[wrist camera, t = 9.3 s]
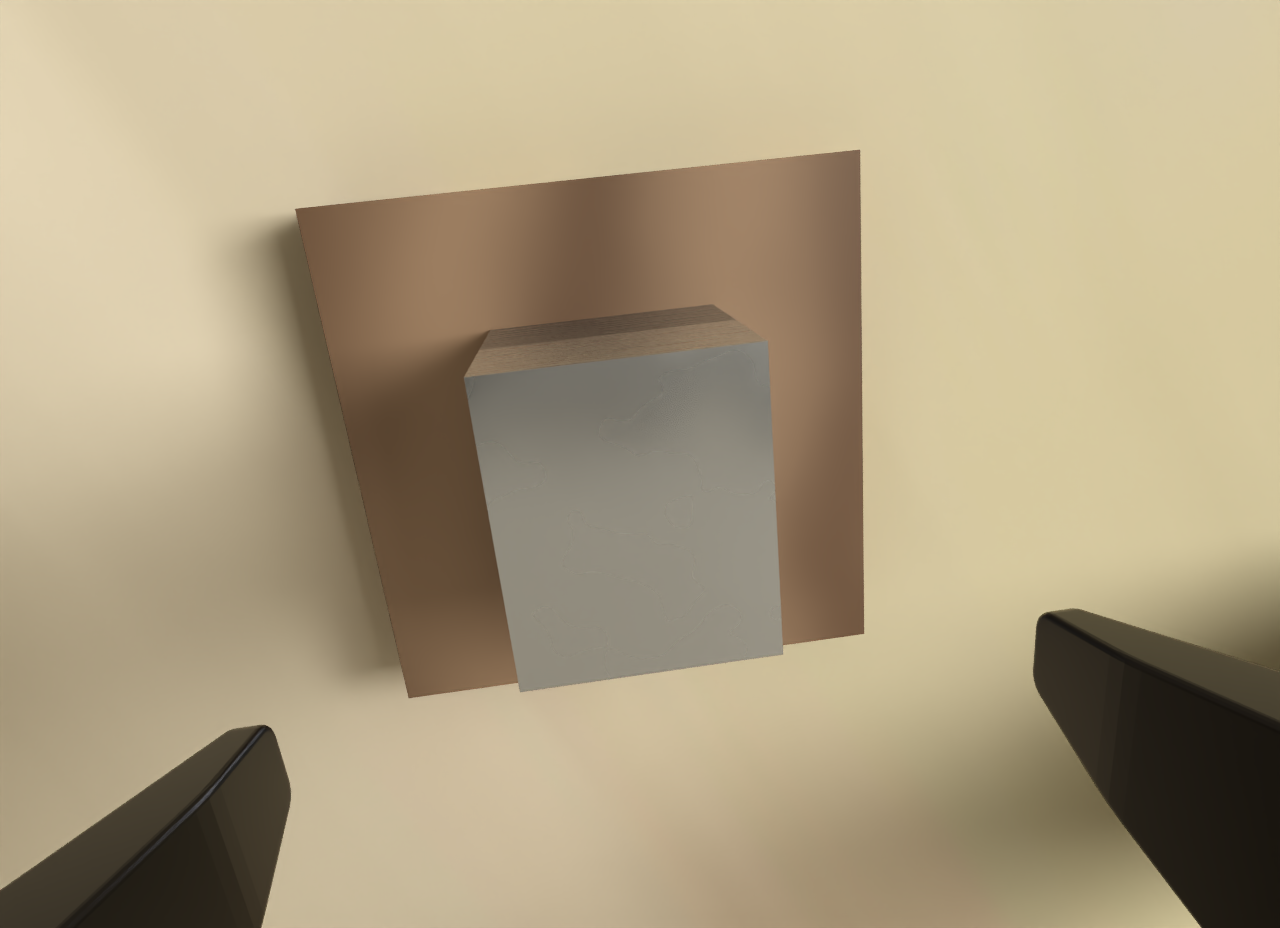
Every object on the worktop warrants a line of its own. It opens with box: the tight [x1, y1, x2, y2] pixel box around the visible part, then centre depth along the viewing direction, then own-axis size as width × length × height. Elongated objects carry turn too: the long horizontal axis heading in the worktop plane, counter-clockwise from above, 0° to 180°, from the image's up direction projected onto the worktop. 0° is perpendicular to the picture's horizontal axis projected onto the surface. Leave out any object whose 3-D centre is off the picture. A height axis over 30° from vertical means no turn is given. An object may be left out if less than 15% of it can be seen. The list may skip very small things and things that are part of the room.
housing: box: [464, 304, 783, 692], centre depth 16 cm, size 5×6×5 cm
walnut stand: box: [295, 150, 864, 698], centre depth 19 cm, size 12×12×2 cm
